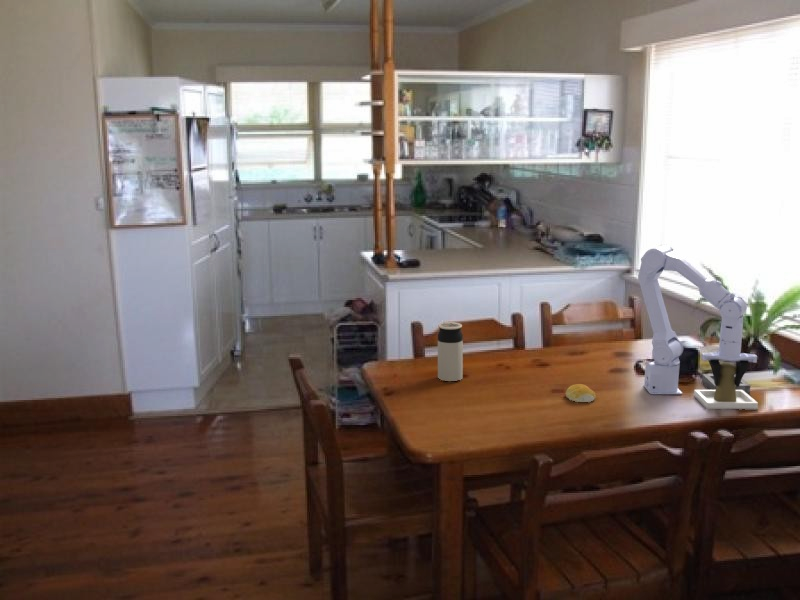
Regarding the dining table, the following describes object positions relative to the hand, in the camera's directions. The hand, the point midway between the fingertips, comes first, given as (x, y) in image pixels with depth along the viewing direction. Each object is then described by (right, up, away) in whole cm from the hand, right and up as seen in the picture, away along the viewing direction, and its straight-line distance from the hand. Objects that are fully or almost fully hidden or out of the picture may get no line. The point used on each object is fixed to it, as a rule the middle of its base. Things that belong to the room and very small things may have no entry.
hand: (726, 385), depth 216 cm
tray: (0, -5, +1) cm, 5 cm away
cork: (0, -5, +2) cm, 5 cm away
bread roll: (-40, -5, +7) cm, 41 cm away
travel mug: (-78, -1, +25) cm, 82 cm away
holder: (+6, -2, +14) cm, 15 cm away
